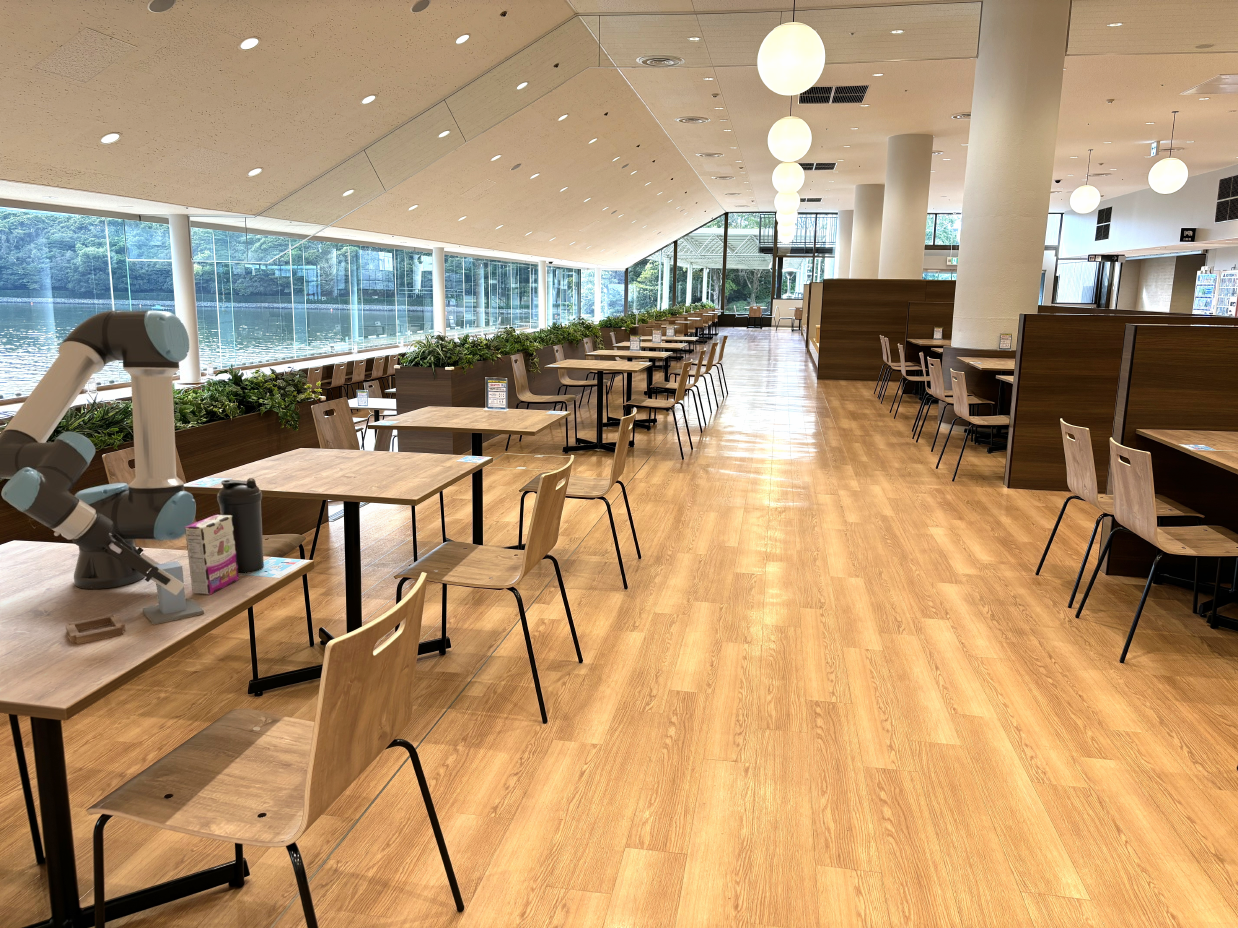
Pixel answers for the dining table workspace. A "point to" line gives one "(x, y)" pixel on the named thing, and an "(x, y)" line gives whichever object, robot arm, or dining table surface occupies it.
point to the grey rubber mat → (158, 617)
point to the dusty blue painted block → (168, 599)
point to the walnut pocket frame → (98, 634)
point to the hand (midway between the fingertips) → (171, 581)
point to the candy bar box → (212, 554)
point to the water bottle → (244, 521)
